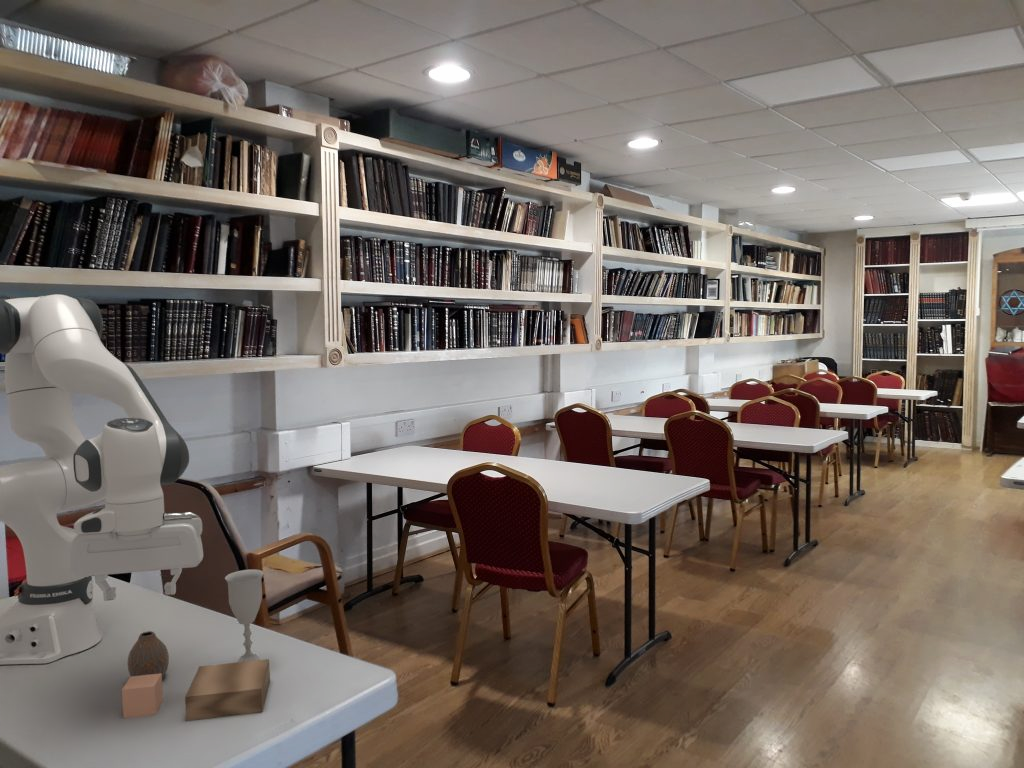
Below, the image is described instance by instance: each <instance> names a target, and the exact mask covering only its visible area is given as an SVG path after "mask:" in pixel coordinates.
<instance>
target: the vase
mask: <svg viewBox="0 0 1024 768" xmlns="http://www.w3.org/2000/svg"><path fill="white" fill-rule="evenodd" d="M169 663H170V655H169V651H168V648H167V646H166V644H165V643H164V642H163V641H162V640H161V639H160V638H158V636H157V635H156V633H155V632H154V631H151V630H149V631H144V632H142V633H140V634H139V636H138V638H137V640H136V642H135V643H134V644H133V646H132V647H131V649H130V651H129V654H128V657H127V671H128V675H129V677H132V676H141V675H151V674H160V673H162V678H163V677H164V676H165V675H166V673H167V671H168V668H169Z"/></svg>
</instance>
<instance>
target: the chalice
mask: <svg viewBox="0 0 1024 768" xmlns="http://www.w3.org/2000/svg"><path fill="white" fill-rule="evenodd" d="M264 574H265V573H264V571H263V570H260V569H254V568H253V569H243V570H238V571H235V572H231V573H229V574H227V575H226V576H225V577H224V579H225V581H226V583H227V587H228V589H227V590H228V604H229V606H230V609H231V612H232V613H233V615H234V617H235V618H236V620H237V622H238V624H240V625H243V627H244V632H243V633H242V635H243V637H244V642H243V643H242V645H243V646H244V648H245V649H244V650H245V653H244V654H243V655H241V656H240V657H239V659H238V660H237V661H238V662H247V661H257V660H260V659H259V656H258V655H257V654H256V653H253V652H252V649H251V648H252V644H253V641H252V639H251V635H252V631H251V628H250V626H251V624H252V623H253V622H255V620H256V618H257V615H258V613H259V610H260V607H261V603H262V600H263V586H262V582H263V581H262V579H263V576H264Z"/></svg>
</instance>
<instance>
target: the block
mask: <svg viewBox="0 0 1024 768" xmlns="http://www.w3.org/2000/svg"><path fill="white" fill-rule="evenodd" d="M163 694H164V692H163V677H162V673H160V674H151V675H141V676H132V677H131V676H129V678H128V679H127V681H126V683H125V685H124V686H123V687H122V689H121V696H122V697H121V698H122V712H123V719H130V718H129V717H131V718H139V716H140V717H147V716H149V717H150V716H157V714H158V711H160V707H161V706H162V705H163V702H164V697H163Z"/></svg>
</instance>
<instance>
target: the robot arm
mask: <svg viewBox="0 0 1024 768" xmlns="http://www.w3.org/2000/svg"><path fill="white" fill-rule="evenodd" d="M103 320H104V319H103V316H102V311H101V310H100V308H99V306H98V305H97V304H96V302H94V301H93V300H91V299H88V298H85V297H78V296H72V297H71V296H69V295H67V294H60V293H59V294H57V293H56V294H50V295H49V294H47V295H39V296H31V297H29V296H28V297H16V298H7V299H4V298H0V354H3V355H5V358H4V359H5V360H4V385H5V393H6V394H5V395H6V401H7V407H8V414H9V419H10V420H9V421H10V427H11V430H12V432H13V433H14V434H15V435H16V436H18V438H20V439H22V440H24V441H27V442H29V443H33V444H36V445H37V446H39V448H41V449H42V451H43V452H44V453H45V456H46V458H43V459H42V458H41V459H37V460H30V461H23V462H15V463H11V464H8V465H5V466H2V467H0V522H1V523H4V524H5V525H6V526H7V527H9V528H10V529H11V530H12V531H13V533H15V535H16V537H17V538H18V540H19V542H20V544H21V547H22V549H23V550H22V551H23V557H24V563H25V564H24V565H25V571H26V572H25V573H26V578H25V579H24V580H22V582H21V584H20V585H18V586H17V588H16V589H15V590H14V591H13V593H14V595H13V596H14V597H17V599H18V601H16V602H15V603H14V604H12V606H11V607H9V608H8V609H7V610H6V611H4V612H3V613H2V614H1V615H0V665H1V666H2V665H29V664H30V665H33V664H35V665H36V664H37V665H38V664H49V663H52V662H55V661H56V660H57V661H58V660H60V659H62V658H64V657H67V656H70V655H73V654H77V653H81V652H83V651H85V650H87V649H90V648H92V647H93V646H95V645H96V644H99V642H100V641H101V640H102V639H103V635H102V633H101V631H100V627H99V626H98V623H97V618H96V616H95V615H96V614H95V610H94V605H93V600H94V599H93V598H94V583H95V584H96V585H97V586H98V588H99V589H100V590H101V592H102V594H103V595H102V596H103V601H104V602H107V601H114V600H115V599H116V598H117V593H116V592H117V587H116V586H113V587H111V586H110V584H109V583H108V581H107V580H106V579H107V578H108V577H109V575H119V574H129V573H130V574H131V573H140V572H153V571H154V572H155V571H162V570H163V571H164V570H170V575H171V576H173V577H172V579H171V581H167V582H166V583H165V584H164V585H163V587H164V596H173V595H175V594H176V592H177V584H176V583H177V581H178V579H179V578H180V576H181V573H182V571H183V569H187V568H196V567H198V566H199V565H200V563H201V562H202V561H203V558H204V549H203V548H204V547H203V542H202V537H201V535H202V533H203V530H204V529H203V528H204V527H203V521H202V518H201V517H200V516H199V515H198V514H195V513H193V512H191V511H185V512H169V513H166V512H165V499H164V498H165V497H164V491H163V488H162V486H163V485H172V484H175V482H177V480H179V478H181V477H182V476H183V474H184V473H185V471H186V470H187V468H188V466H189V463H190V453H189V448H188V445H187V443H186V441H185V440H184V438H183V437H182V436H181V434H180V433H179V432H177V430H176V429H174V427H173V426H172V425H171V423H170V422H169V421H168V419H167V418H166V416H165V415H164V413H163V412H162V410H161V409H160V407H159V405H158V404H157V403H156V401H155V400H154V398H153V397H152V394H150V391H149V390H148V389H147V387H146V386H145V384H144V382H143V381H142V379H141V377H140V376H139V375H138V374H137V372H136V371H135V370H134V369H133V368H132V367H131V366H130V365H129V364H127V363H125V362H123V361H121V360H119V359H118V358H117V357H115V356H114V355H113V354H112V353H111V352H110V351H109V350H108V349H107V348H106V347H105V346H104V344H103V342H102V340H101V338H102V335H103V330H104V329H103V328H104V327H103V326H104V321H103ZM71 394H75V395H82V396H89V397H94V398H98V399H102V400H106V401H109V402H111V403H114V404H116V405H117V406H119V407H121V408H122V409H123V410H124V412H125V413H126V415H127V416H128V417H120V418H115V419H113V420H109V421H107V422H106V423H105V424H104V426H103V430H102V432H101V433H100V434H98V435H97V436H95V437H93V438H88V439H86V438H85V437H84V435H83V434H82V432H81V430H80V428H79V426H78V424H77V421H76V417H75V413H74V409H73V403H72V398H71ZM103 500H104V506H105V507H104V508H99V509H98V510H95V511H92V512H89V513H87V514H85V515H84V516H81V517H80V518H79V519H77V520H76V521H75V522H74V523H73V528H72V527H68V526H65V525H64V526H63V525H61V524H60V522H59V521H58V517H57V512H58V513H59V512H61V511H66V510H71V509H77V508H81V507H87V506H91V505H93V504H96V503H98V502H101V501H103ZM93 577H94V583H93Z"/></svg>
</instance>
